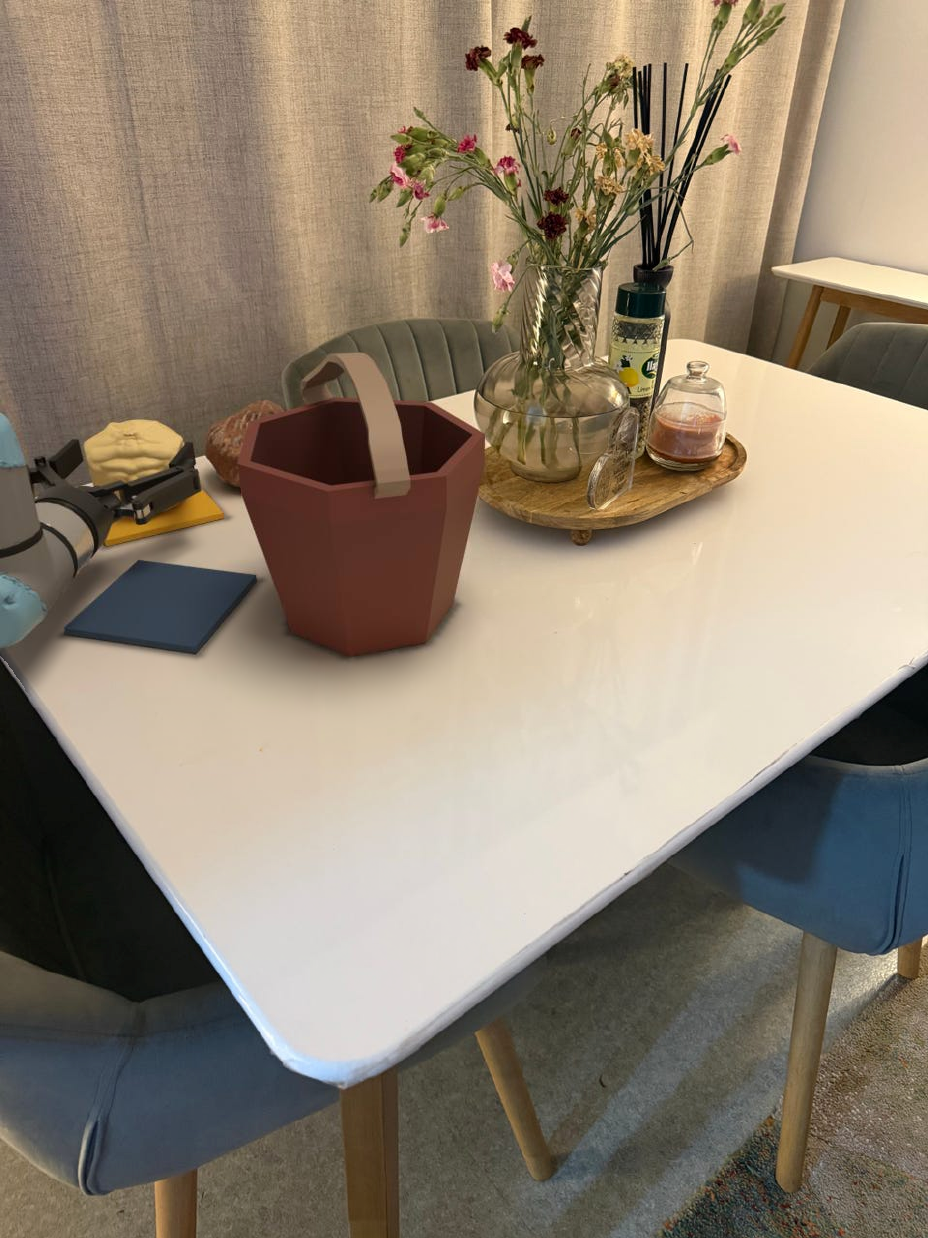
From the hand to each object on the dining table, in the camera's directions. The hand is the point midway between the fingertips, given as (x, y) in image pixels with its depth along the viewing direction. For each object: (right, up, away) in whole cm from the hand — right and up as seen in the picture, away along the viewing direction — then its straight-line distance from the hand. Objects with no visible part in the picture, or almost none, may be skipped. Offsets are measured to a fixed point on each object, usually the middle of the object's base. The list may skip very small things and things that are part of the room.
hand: (134, 451), depth 105 cm
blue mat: (+8, -19, -14) cm, 25 cm away
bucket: (+30, -19, -13) cm, 38 cm away
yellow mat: (0, -6, +5) cm, 8 cm away
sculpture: (0, -6, +5) cm, 7 cm away
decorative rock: (+12, -1, +13) cm, 18 cm away
